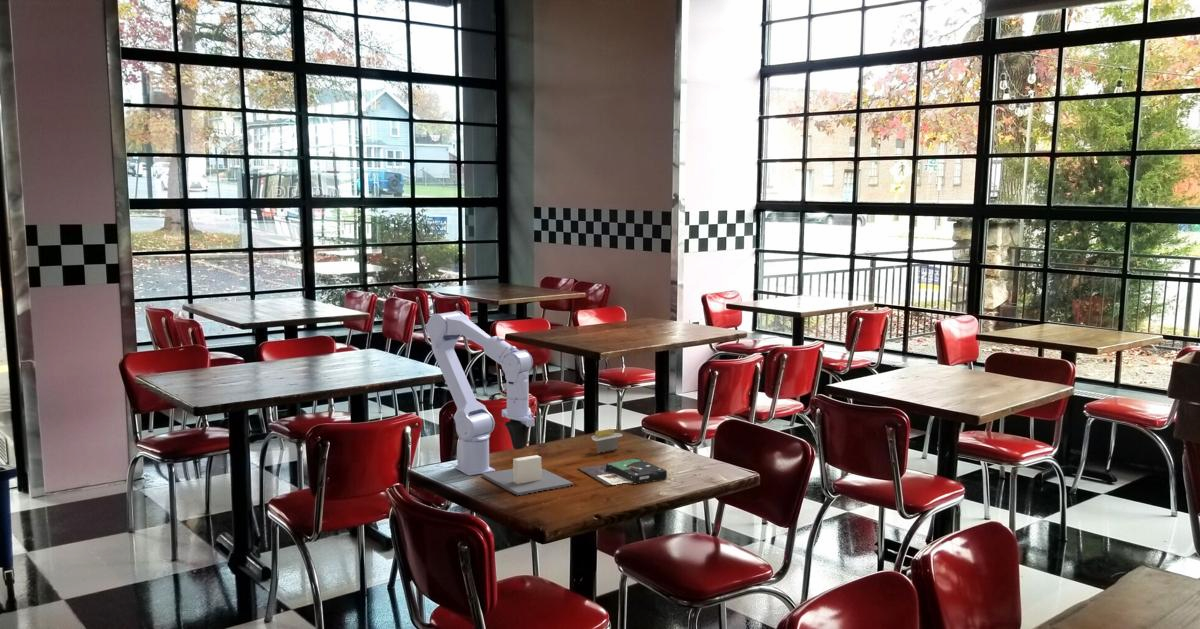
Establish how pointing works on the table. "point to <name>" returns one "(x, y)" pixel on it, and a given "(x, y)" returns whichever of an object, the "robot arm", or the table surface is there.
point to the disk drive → (637, 470)
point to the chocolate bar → (604, 475)
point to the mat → (506, 482)
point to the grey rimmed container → (606, 440)
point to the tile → (527, 469)
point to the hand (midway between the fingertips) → (518, 448)
